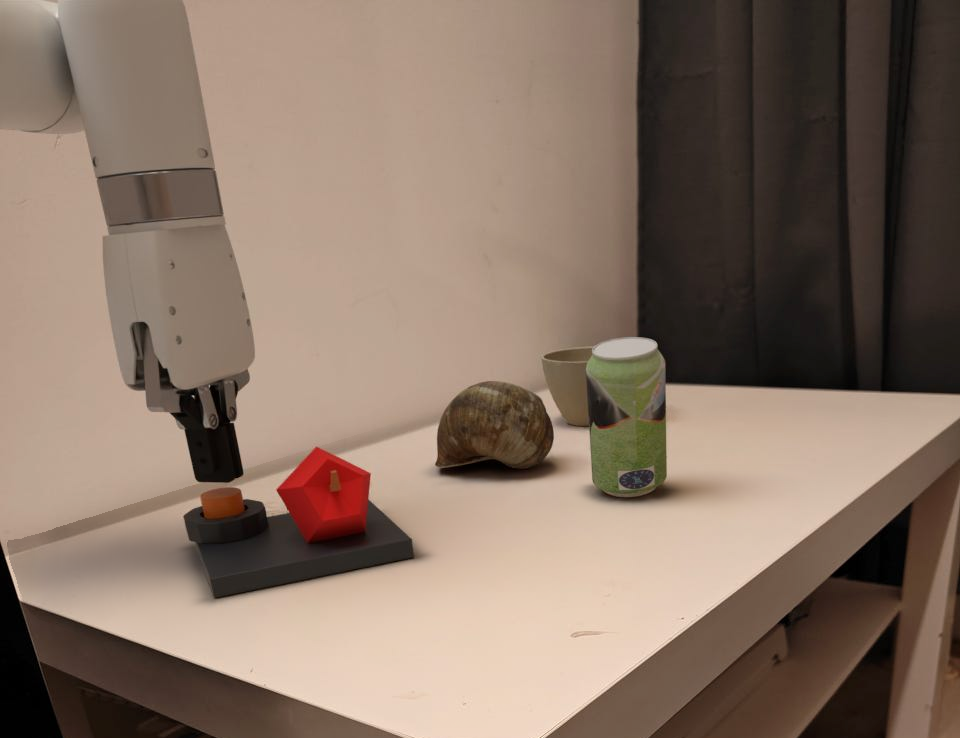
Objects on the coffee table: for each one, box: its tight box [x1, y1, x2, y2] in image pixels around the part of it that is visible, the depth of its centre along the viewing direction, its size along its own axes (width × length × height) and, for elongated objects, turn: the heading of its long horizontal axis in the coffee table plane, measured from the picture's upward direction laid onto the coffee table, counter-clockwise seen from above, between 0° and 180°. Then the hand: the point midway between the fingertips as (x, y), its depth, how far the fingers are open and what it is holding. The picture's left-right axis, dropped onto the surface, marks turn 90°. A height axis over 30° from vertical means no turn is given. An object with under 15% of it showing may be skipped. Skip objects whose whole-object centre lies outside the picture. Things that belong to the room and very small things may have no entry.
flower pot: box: [540, 345, 595, 427], centre depth 100 cm, size 10×10×7 cm
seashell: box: [434, 380, 555, 470], centre depth 85 cm, size 11×9×8 cm
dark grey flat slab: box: [183, 498, 415, 599], centre depth 69 cm, size 14×13×3 cm
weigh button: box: [199, 486, 245, 519], centre depth 70 cm, size 3×3×2 cm
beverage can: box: [586, 336, 668, 498], centre depth 74 cm, size 6×7×12 cm
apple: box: [275, 446, 372, 543], centre depth 66 cm, size 7×7×8 cm
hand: (220, 478), depth 69 cm, fingers closed
